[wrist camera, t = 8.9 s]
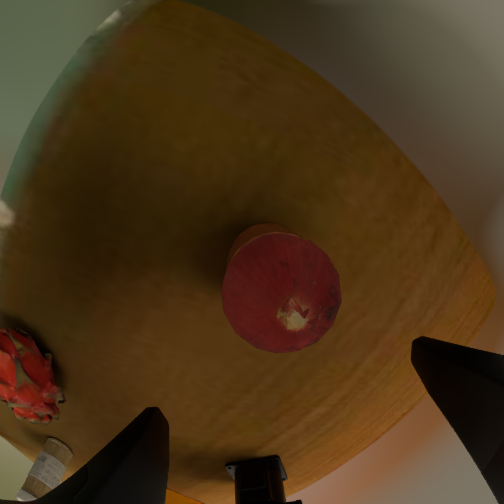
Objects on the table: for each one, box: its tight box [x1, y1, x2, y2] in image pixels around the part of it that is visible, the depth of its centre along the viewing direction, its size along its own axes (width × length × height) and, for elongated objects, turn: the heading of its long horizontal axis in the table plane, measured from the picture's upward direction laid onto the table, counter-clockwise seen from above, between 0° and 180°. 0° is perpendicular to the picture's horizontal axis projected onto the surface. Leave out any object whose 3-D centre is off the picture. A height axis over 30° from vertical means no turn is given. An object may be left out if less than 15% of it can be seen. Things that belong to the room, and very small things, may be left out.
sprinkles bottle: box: [16, 438, 73, 501], centre depth 18 cm, size 5×5×14 cm
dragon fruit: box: [0, 327, 66, 425], centre depth 18 cm, size 8×8×12 cm
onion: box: [221, 233, 342, 353], centre depth 13 cm, size 6×6×8 cm
